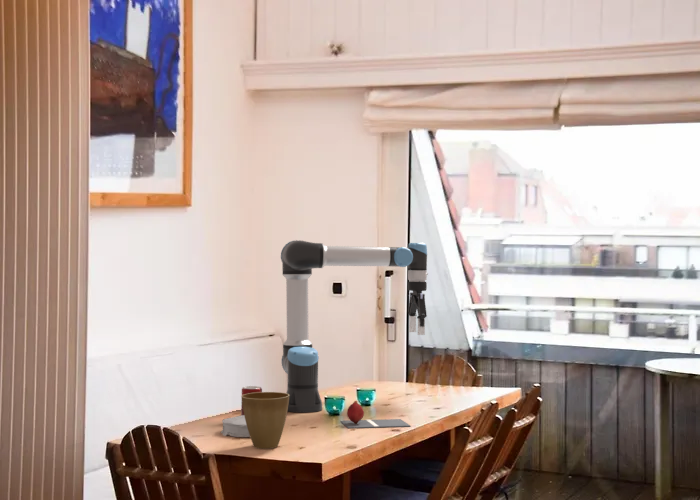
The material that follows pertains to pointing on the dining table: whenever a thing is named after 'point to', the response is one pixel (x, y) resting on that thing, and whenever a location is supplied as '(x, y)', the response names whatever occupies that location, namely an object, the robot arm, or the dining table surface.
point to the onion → (355, 412)
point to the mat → (375, 423)
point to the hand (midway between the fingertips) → (416, 333)
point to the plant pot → (265, 417)
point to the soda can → (249, 390)
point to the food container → (235, 427)
